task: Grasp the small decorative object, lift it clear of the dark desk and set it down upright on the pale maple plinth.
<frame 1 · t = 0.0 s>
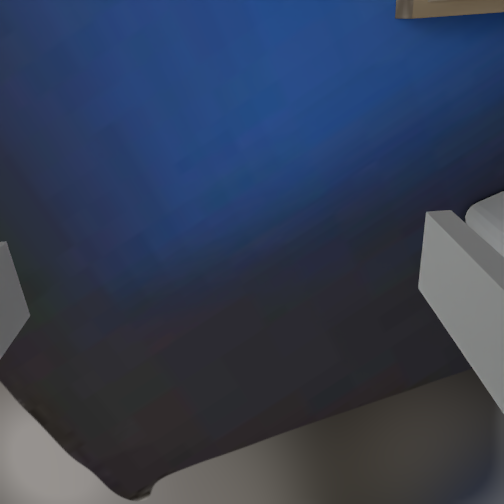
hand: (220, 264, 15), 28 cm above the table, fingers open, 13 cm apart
cup: (495, 218, 46), on the table
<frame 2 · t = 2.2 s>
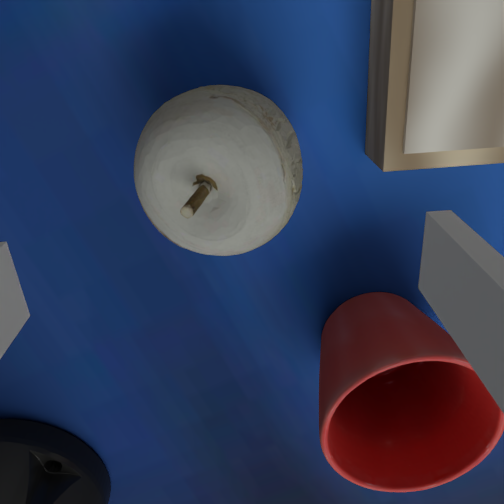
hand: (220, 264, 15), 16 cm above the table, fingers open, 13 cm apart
flower pot: (369, 331, 37), on the table
plinth: (491, 23, 27), on the table
decorative object: (222, 147, 30), on the table
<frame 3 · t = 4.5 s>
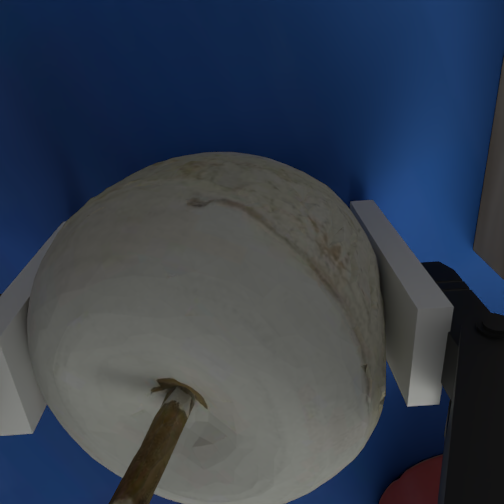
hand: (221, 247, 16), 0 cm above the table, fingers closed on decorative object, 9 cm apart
flower pot: (450, 499, 24), on the table
decorative object: (222, 239, 17), on the table, touching gripper
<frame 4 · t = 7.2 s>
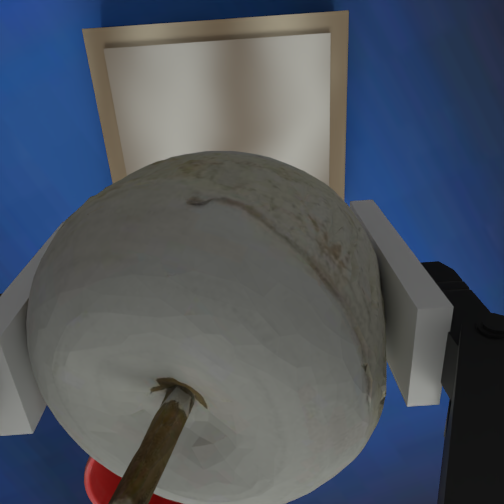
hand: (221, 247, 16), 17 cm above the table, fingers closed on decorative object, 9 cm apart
flower pot: (179, 384, 41), on the table
plinth: (227, 136, 32), on the table
decorative object: (222, 238, 17), point 16 cm above the table, touching gripper
when the fingers open (6 cm above the table, at t = 10.0 s): decorative object drops 1 cm, resting on plinth.
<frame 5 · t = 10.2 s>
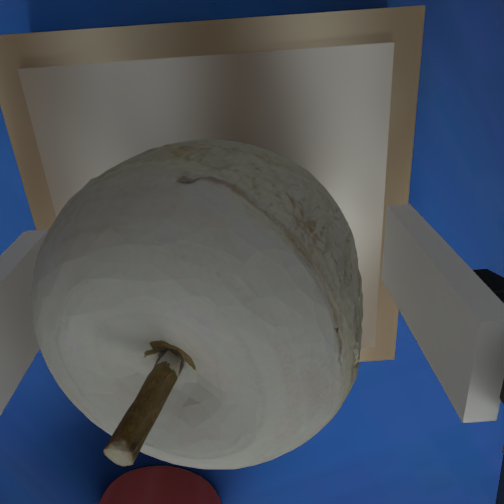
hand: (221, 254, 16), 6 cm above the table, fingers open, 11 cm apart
flower pot: (161, 501, 31), on the table
plinth: (225, 191, 22), on the table
decorative object: (214, 227, 18), point 4 cm above the table, touching plinth
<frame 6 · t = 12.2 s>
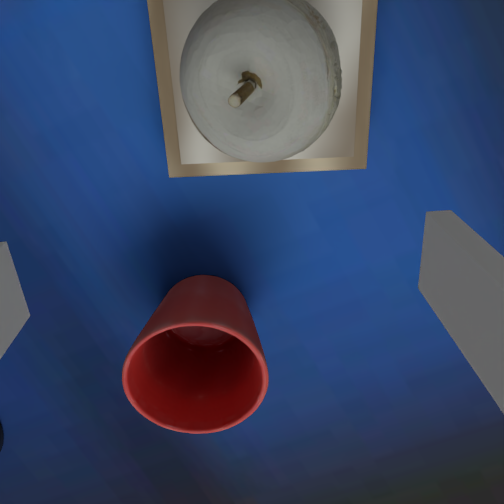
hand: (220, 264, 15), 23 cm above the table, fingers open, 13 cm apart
flower pot: (204, 308, 44), on the table
plinth: (262, 62, 34), on the table
decorative object: (259, 68, 31), point 4 cm above the table, touching plinth
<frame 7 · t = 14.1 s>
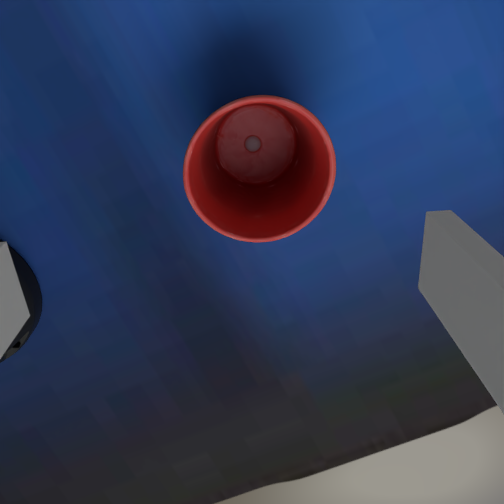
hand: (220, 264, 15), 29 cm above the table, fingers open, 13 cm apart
flower pot: (254, 142, 42), on the table
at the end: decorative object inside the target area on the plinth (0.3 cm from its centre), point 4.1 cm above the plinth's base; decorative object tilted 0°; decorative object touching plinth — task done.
